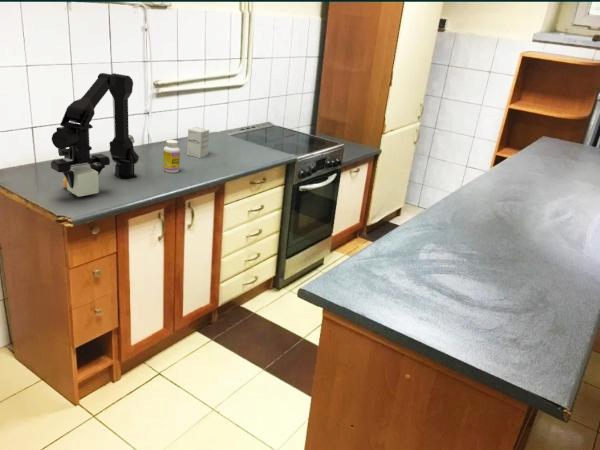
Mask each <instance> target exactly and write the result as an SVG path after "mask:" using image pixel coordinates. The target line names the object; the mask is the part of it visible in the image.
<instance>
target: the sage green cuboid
mask: <svg viewBox="0 0 600 450" xmlns="http://www.w3.org/2000/svg"><path fill="white" fill-rule="evenodd" d="M71 170H72V171H73V172H74V176H73V188H70V186H69V183H68V181H67V188H66V190H67V191H68V192H70V193H72V194H73V195H75V196H76V197H84V196H89V195H94V194H99V188H100V187H99V175H98V172H97V171H96V170H94V169H92V168H91V167H90V166H88V165H81V166H74V167H71Z"/></svg>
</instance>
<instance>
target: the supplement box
mask: <svg viewBox="0 0 600 450" xmlns="http://www.w3.org/2000/svg"><path fill="white" fill-rule="evenodd" d="M209 141H210V129H206V128H201V127H199V126H194V127H191V128H188V129H187V148H186V149H187V150H186V155H187V156H189V157H190V156H191V157H195V158H198V159H201V158H204V157H207V156H208V155H209ZM206 155H207V156H206Z"/></svg>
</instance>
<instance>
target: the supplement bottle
mask: <svg viewBox="0 0 600 450" xmlns="http://www.w3.org/2000/svg"><path fill="white" fill-rule="evenodd" d="M165 142H166V143H165V145H166V146H164V147H163V157H162V161H163V162H162V163H163V164H162V169H163V172H166V173H169V174H170V173H177V172H179V171H180V157H181V156H180V155H181V149H180V148H179V147H178V144H179V141H178V140H176V139H167V140H166V141H165Z"/></svg>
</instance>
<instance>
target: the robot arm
mask: <svg viewBox="0 0 600 450" xmlns="http://www.w3.org/2000/svg"><path fill="white" fill-rule="evenodd" d="M133 87H134V81H133V78H131V76H130V75H125V74H119V73H115V72H112V73H106V72H105V73H104V72H100V73H99V74H98V76H97V79H96V80H95V81H94V82H93V83H92V84H91V86H90V87H89V88H88V89H87V91H86V92H85V94H83V95H82V97H80V98H79V99H77V100H73V101H72V102H71V103H70V104H69V105H68V106H67V108H66V110H65V112H64V115H63V116H62V120H61V122H60V126H61V127H60V126H58V127H56V131H54V132H53V133H52V135H51V142H52V144H53V145H54V147H55V148H57V153H58V156H59V157H64V159H63V158H61V159H60V158H58V159H53V160H52V161H51V162H50V168H51V169H52V170H54V171H55V172H57V173H62V174H63V175H64V177H66V179H67V181H68V183H69V186H70V188H73V176H74V172H73V171H72V170H71V168H74V167H81V166H87V165H89V167H90V168H92V169H94V170H96V171H97V172H98V176H99V175H100V174H101V172H102V170H103V169H105V168H106V166H110V165H111V159H112V161H114V160H115V161H116V162H115V163H116V164H115V165H114V172H115V173H113V174H114V175H113V176H116V177H117V178H120V179H121V180H126V179H132V178H137V176H138V175H137V174H135V164H137V163H138V161H139V158H140V157H139V154H138V153H137V152H136V151H135V149H134V143H132V141H131V140H130V138H129V135H130V134H129V98H130V96H131V95H132V93H133ZM108 91H109V93H110V95H111V96H112V98H113V106H114V107H113V110H114V111H113V112H114V113H113V114H114V115H113V117H114V137H113V138H112V140H111V141H109V153H110V155H111V159H110V157H109V156H107V155H105V154H103V153H96V154H92V155H91V152H90V151H92V146H91V145H90V129H93V128H94V126H93V124H90V123H91V121H92V120H93V117H95V109H96V107H97V105H98V104H99V103H100V102H101V100H102V99H103V98H104V96H106V94H107V92H108ZM65 159H68V161H67V160H65ZM69 160H70V161H69Z"/></svg>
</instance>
